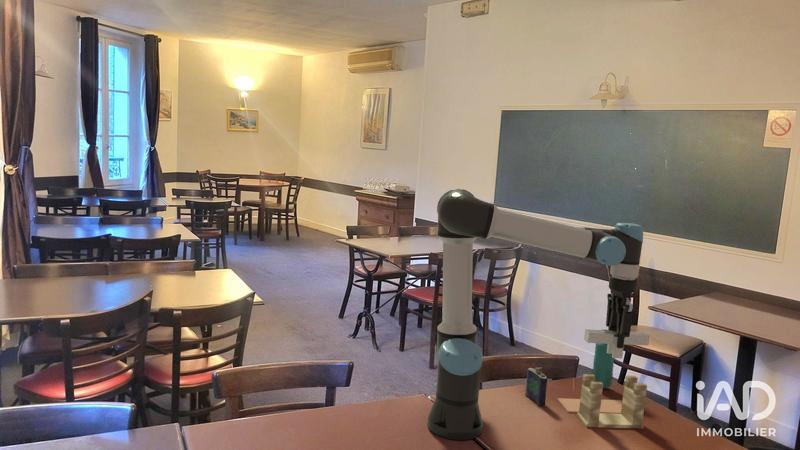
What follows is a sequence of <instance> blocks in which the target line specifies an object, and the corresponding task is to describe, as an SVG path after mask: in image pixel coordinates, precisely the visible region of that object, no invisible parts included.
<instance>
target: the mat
mask: <svg viewBox="0 0 800 450" xmlns="http://www.w3.org/2000/svg"><path fill="white" fill-rule="evenodd" d="M622 400H623V399H601V407H600V413H610V414H621V408H622ZM557 401H558V402H559V403H560V404H561V406H562V407H563V408H564V410H565V411H566V413H572V414H574V413H575V414H577V413H579V407H580V398H561V397H559V398H558V397H557Z"/></svg>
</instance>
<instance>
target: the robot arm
mask: <svg viewBox="0 0 800 450" xmlns="http://www.w3.org/2000/svg"><path fill="white" fill-rule="evenodd" d="M437 202H438V203H437V206H436V212H437V237H438V238H439V239H440V240H441V241H442V321H441V323H439V324H438V325H437V328H436V329H437V330H436V331H437V332H436V333H437V334H436V335H437V337H436V347H435V351H436V356H437V357H436V359H437V380H436V390H435V391H436V393H435V399H434V400H433V403H432V406H431V408H430V411H429V412H428V414H427V423H426V424H427V427H428V429H429V430H430V432H432V433H433V434H435V435H436V436H438V437H441V438H444V439H449V440H453V441H467V440H473V439H476V438H477V437H479V436H480V435H481V434H482V432H483V422H484V421H483V419H482V414H481V409H480V405H479V396H480V386H481V385H480V384H481V373H482V372H481V371H482V365H483V360H484V359H483V358H484V357H483V351H482V348H481V347H480V345H478V344H477V341H478V340H477V338H478V337H477V336H478V335H477V334H478V332H477V331H478V330H477V329H478V327H477V326H476V325H475V324H474V323H473V322H472V321H473V320H472V319H473V318H472V317H473V314H472V313H473V266H474V265H473V260H474V259H473V255H474V254H473V251H474V248H473V247H474V242H475V241H476V240H477V239H478V238H479V239H482V240H483V239H484V240H488V239H489V238H491V237H492V238H495V239H501V240H504V241H509V242H512V243H513V242H514V243H517V244H521V245H527V246H531V247H535V248H540V249H544V250H547V251H552V252H557V253H562V254H565V255H571V256H575V257H579V258H583V259H587V260H590V261H595V262H598V263H600V264H602V265H605V266H609V267H610V271H609V274H610V276H609V280H608V289H609V290H611V291H612V293H607V295H606V296H607V305H606V306H607V308H606V319H605V326H606V328H608V329H607V330H609V331H617V332H616V334H614V344H608V346H607V353H608V354H612V358H614V359H623V355H624V346H625V344H624V339H625V337H629V336H630V332H631V330H632V323H633V318H634V313H635V310H636V305H635V304H632V303H631V302H632V296H631V295H632V294H633V293H636V292H637V288H638V282H639V281H638V279H637V278H638V277H639V273H640V272H639V271H640V269H641V267H640V263H641V255H642V248H643V244H644V228H643V226H642V225H640V224H637V223H632V222H617V223H616V224H615V227H614V228H612V229H608V228H595V227H586V226H583V227H582V226H581V227H580V226H578V227H577V226H572V225H568V224H564V223H559V222H556V221H553V220H552V221H550V220H547V219H542V218H539V217H535V216H530V215H526V214H523V213H522V214H521V213H517V212H513V211H510V210H509V211H508V210H504V209H501V208H498V207H497V206H496V204H495V203H493V202H487V201H484V200H482V199H479V198H477V197H475V195H473V194H472V193H471V192H470V191H468V190H467V189H464V188H463V189H461V188H455V189H451V190H448V191H447V192H445V193H443V195H442V196H441V197H440V198H439V200H438V201H437Z"/></svg>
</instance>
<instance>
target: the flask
mask: <svg viewBox="0 0 800 450" xmlns="http://www.w3.org/2000/svg"><path fill="white" fill-rule="evenodd" d="M541 369H543V367H535V368H532V367H529V368H527V374H526V385H525V392H524V395H525V396H526V397H527V398H528V399H530V401H533V402H534V403H535V404H536V405H538V406H539V407H546V398H547V388H548V387H547V386H548V377H547V376H546V375H545V374H544V373H543V371H542V370H541Z"/></svg>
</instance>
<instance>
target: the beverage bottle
mask: <svg viewBox="0 0 800 450" xmlns="http://www.w3.org/2000/svg"><path fill="white" fill-rule="evenodd" d="M607 330H608V329H607ZM608 331H609V330H608ZM607 346H608V344H604V343H595V347H594V348H595V349H594V355H593V361H592V363H593V365H592V372H591V374H593V375H594V376H595V382H602V383H603V389H605V388H611V386H612V382H613V376H614V375H613V374H614V365H615V362H614V361H615V360H614V359H615V358H612V354H608V353H607Z"/></svg>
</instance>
